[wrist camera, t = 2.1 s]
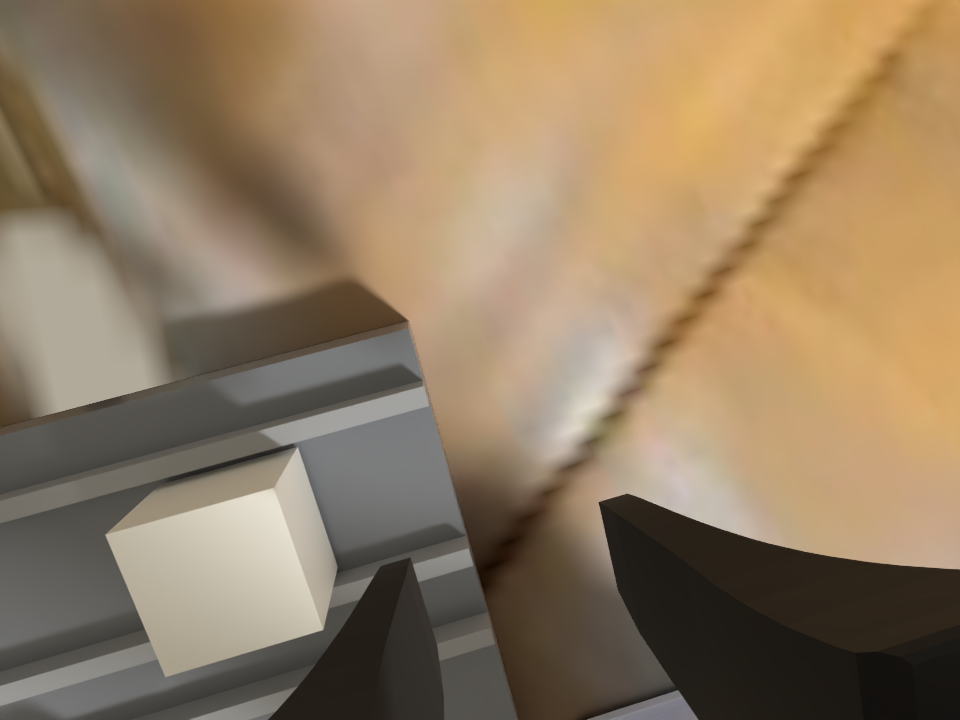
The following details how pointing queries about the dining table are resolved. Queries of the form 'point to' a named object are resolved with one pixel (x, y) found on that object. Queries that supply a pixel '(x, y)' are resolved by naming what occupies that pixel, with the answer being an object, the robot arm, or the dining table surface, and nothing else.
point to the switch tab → (227, 561)
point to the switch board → (212, 445)
